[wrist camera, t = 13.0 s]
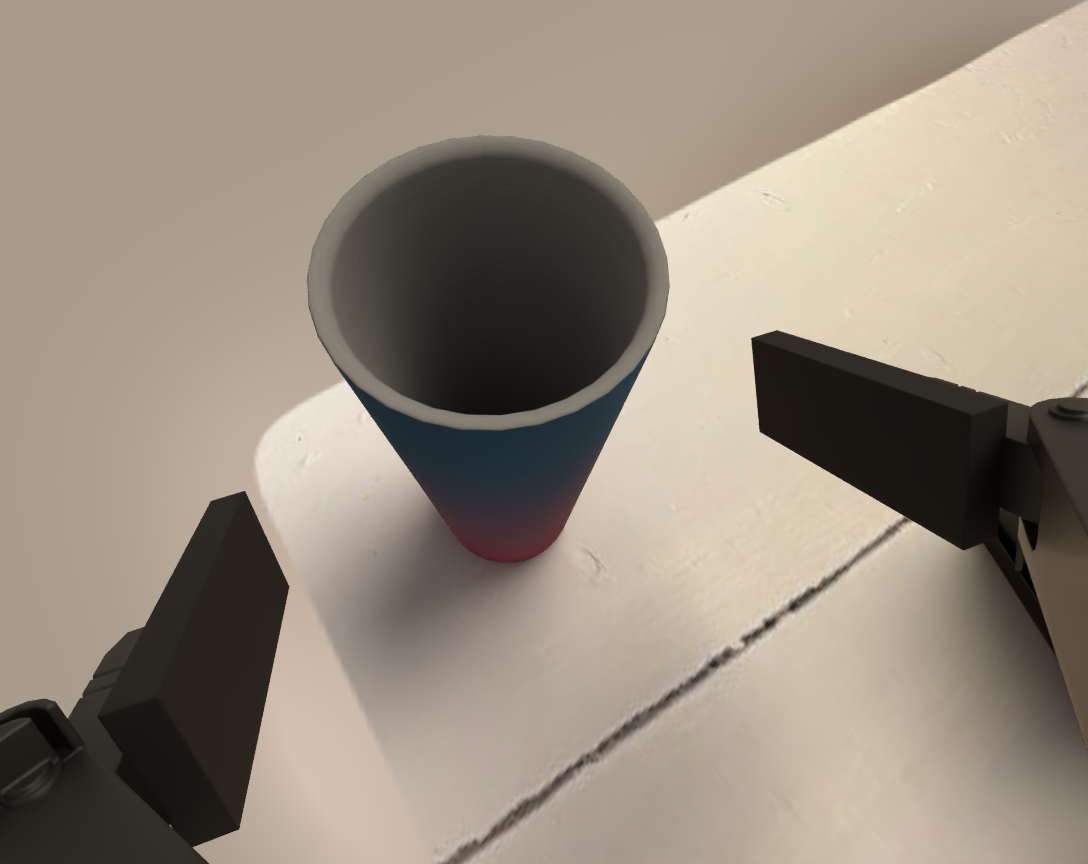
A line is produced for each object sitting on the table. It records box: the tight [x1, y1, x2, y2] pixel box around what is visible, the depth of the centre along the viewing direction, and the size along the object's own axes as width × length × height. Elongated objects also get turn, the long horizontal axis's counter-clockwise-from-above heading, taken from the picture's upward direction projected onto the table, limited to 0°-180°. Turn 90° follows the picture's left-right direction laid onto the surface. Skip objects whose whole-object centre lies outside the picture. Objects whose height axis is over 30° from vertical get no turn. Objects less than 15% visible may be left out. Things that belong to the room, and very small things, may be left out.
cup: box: [307, 136, 670, 563], centre depth 19 cm, size 7×7×15 cm
